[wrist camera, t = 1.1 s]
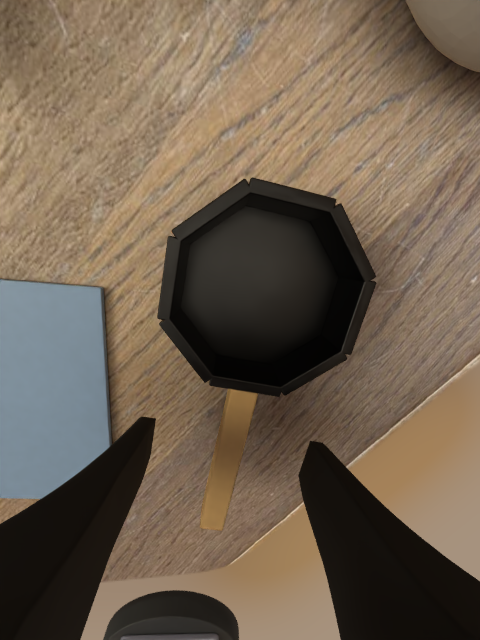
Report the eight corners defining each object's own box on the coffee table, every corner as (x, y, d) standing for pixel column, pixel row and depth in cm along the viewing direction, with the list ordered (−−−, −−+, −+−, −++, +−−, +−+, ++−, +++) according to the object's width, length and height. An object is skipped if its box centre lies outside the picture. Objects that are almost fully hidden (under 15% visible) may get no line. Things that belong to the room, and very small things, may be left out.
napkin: (114, 495, 15) (112, 500, 15) (-78, 491, 14) (-85, 496, 14) (103, 287, 12) (100, 287, 11) (-149, 266, 11) (-159, 267, 11)
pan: (190, 183, 11) (177, 157, 8) (357, 224, 12) (401, 215, 9) (148, 469, 15) (130, 522, 12) (275, 485, 16) (287, 538, 13)
